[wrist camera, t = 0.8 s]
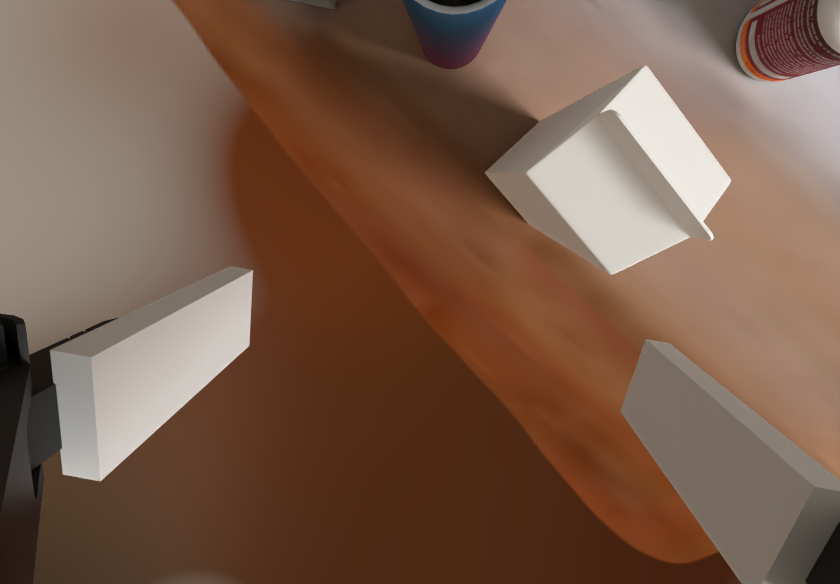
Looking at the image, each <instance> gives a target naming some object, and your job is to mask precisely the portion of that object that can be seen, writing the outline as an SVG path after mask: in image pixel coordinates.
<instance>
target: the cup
mask: <svg viewBox="0 0 840 584" xmlns="http://www.w3.org/2000/svg"><path fill="white" fill-rule="evenodd" d="M403 2H404V5H405V7H406V10H407V12H408V14H409V17H410V19H411V22H412V24H413V27H414V29H415V31H416V34H417V36H418V39H419V41H420V44H421V46H422V48H423V51H424V53H425V54H426V56H427V57H428V59H429V60H430V61H432V62H433V63H434V64H436V65H437V66H439V67H442V68H445V69H457V68H460V67H463V66H465V65H467V64H468V63H470V62H471V61H472V60H473V59H474V58H475V57H476V55H477V54H478V52H479V51H480V49H481V47H482V45H483V43H484V41H485V39H486V38H487V36H488V34H489V32H490V30H491V28H492V26H493V25H494V23H495V21H496V19H497V17H498V15H499V13H500V12H501V10H502V8H503V6H504V4H505V2H506V0H403Z"/></svg>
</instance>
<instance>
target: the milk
mask: <svg viewBox="0 0 840 584" xmlns="http://www.w3.org/2000/svg"><path fill="white" fill-rule="evenodd" d="M485 174H486V175H487V177H488V178H489V179H490V180H491V181H492V182H493V184H494V185H495V186H496V187H497V188H498V189H499V191H500V192H501V193H502V194H503V195H504V196H505V197H506V199H507V200H508V201H509V202H510V203H511V204H512V206H513V207H514V208H515V209H516V210H517V211H518V213H519V214H520V215H521V216H522V217H523V218H524V220H525V221H526V222H527V223H528V224H529V225H531V226H532V227H534V228H535V229H537V230H539V231H540V232H542V233H544V234H545V235H547V236H549V237H550V238H552V239H553V240H555V241H557V242H558V243H560V244H562V245H563V246H565V247H566V248H568V249H570V250H571V251H573V252H575V253H576V254H578V255H579V256H581V257H583V258H584V259H586V260H588V261H589V262H591V263H593V264H594V265H596V266H597V267H599V268H601V269H602V270H604V271H606V272H607V273H609V274H615V273H617V272H619V271H621V270H623V269H625V268H627V267H629V266H631V265H634V264H636V263H638V262H640V261H642V260H644V259H646V258H648V257H650V256H652V255H654V254H656V253H658V252H660V251H662V250H664V249H666V248H668V247H670V246H672V245H674V244H677V243H679V242H681V241H683V240H685V239H687V238H689V237H696V238H700V239H704V240H708V241H711V240H712V239H713V234H712V233H711V231H710V230H709V229H708V227H707V226H706V225H705V223H704V222H703V220H704V219H705V218H706V216H707V215H708V213H709V212H710V211H711V209H712V208H713V206H714V205H715V204H716V202H717V201H718V199H719V198H720V197H721V195H722V194H723V192H724V191H725V190H726V188H727V187H728V185H729V184H730V182H731V179H730V178H729V176H728V175H727V173H726V172H725V171H724V169H723V168H722V167H721V165H720V164H719V163H718V161H717V160H716V159H715V157H714V156H713V155H712V153H711V152H710V150H709V149H708V148H707V146H706V145H705V144H704V142H703V141H702V140H701V138H700V137H699V136H698V134H697V133H696V131H695V130H694V129H693V127H692V126H691V125H690V123H689V122H688V121H687V119H686V118H685V117H684V115H683V114H682V113H681V111H680V110H679V108H678V107H677V106H676V104H675V103H674V102H673V100H672V99H671V98H670V96H669V95H668V94H667V92H666V91H665V90H664V88H663V87H662V85H661V84H660V83H659V81H658V80H657V79H656V77H655V76H654V75H653V73H652V72H651V71H650V69H649V68H648V67H647V66H646V65H644V66H642V67H640V68H638V69H636V70H634V71H633V72H631V73H629V74H627V75H625V76H623V77H621V78H620V79H618V80H616V81H614V82H612V83H610V84H608V85H606V86H605V87H603V88H601V89H599V90H597V91H595V92H593V93H592V94H590V95H588V96H586V97H584V98H582V99H580V100H579V101H577V102H575V103H573V104H571V105H569V106H567V107H565V108H564V109H562V110H560V111H558V112H556V113H554V114H552V115H551V116H549V117H547V118H545V119H543V120H541V121H539V122H538V123H537V124H536V125H535V126H534V127H533V128H532V129H531V130H530V131H529V132H527V133H526V134H525V135H524V136H523V137H522V138H521V139H520V140H519V141H518V142H517V143H516V144H514V145H513V146H512V147H511V148H510V149H509V150H508V151H507V152H506V153H505V154H504V155H503V156H502V157H500V158H499V159H498V160H497V161H496V162H495V163H494V164H493V165H492V166H491V167H490V168H489V169H487V170H486V171H485Z"/></svg>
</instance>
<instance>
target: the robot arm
mask: <svg viewBox="0 0 840 584" xmlns="http://www.w3.org/2000/svg"><path fill="white" fill-rule="evenodd" d="M252 275H253V270H248V269H243V268H237V267H231V266H230V267H228V268H226V269H223V270H221V271H219V272H217V273H215V274H213V275H211V276H208V277H206V278H204V279H202V280H200V281H197V282H195V283H193V284H191V285H189V286H187V287H185V288H182V289H180V290H179V291H176V292H174V293H172V294H170V295H167V296H166V297H163V298H161V299H159V300H157V301H154V302H152V303H150V304H148V305H146V306H144V307H142V308H140V309H137V310H135V311H133V312H131V313H129V314H127V315H124V316H122V317H120V318H116V319H111V320H107V321H103V322H101V323H99V324H97V325H94V326H92V327H90V328H88V329H86V330H85V332H84V331H81V332H79V333H77V334H75V335H72V336H71V337H70V339H68V338H66V339H64V340H62V341H59V342H57V343H55V344H53V345H50V346H48V347H46V348H44V349H42V350H40V351H37V352H35V353H33V354H31V355H29V351H28V342H27V334H26V327H25V322H24V320H23V319H21V318H19V317H16V316H14V315H6V314H0V584H33V581H34V571H35V561H36V552H37V542H38V532H39V522H40V512H41V502H42V493H43V483H44V474H43V466H42V463H43V462H44V461H45V460H47V459H48V458H49V457H51V456H52V455H53V454H55V453H56V452H58V451H59V450H61V460H62V470H63V475H69V476H74V477H80V478H86V479H91V480H96V481H101V480H102V479H103V478H104V477H106V476H107V475H108V474H109V473H110V472H111V471H112V470H113V469H114V468H115V467H117V466H118V465H119V464H120V463H121V462H122V461H123V460H124V459H125V458H126V457H128V456H129V455H130V454H131V453H132V452H133V451H134V450H135V449H136V448H137V447H139V446H140V445H141V444H142V443H143V442H144V441H145V440H146V439H147V438H148V437H149V436H151V435H152V434H153V433H154V432H155V431H156V430H157V429H158V428H159V427H160V426H161V425H163V424H164V423H165V422H166V421H167V420H168V419H169V418H170V417H171V416H173V415H174V414H175V413H176V412H177V411H178V410H179V409H180V408H181V407H182V406H183V405H185V404H186V403H187V402H188V401H189V400H190V399H191V398H192V397H193V396H194V395H196V394H197V393H198V392H199V391H200V390H201V389H202V388H203V387H204V386H205V385H207V384H208V383H209V382H210V381H211V380H212V379H213V378H214V377H215V376H216V375H217V374H219V373H220V372H221V371H222V370H223V369H224V368H225V367H226V366H227V365H229V364H230V363H231V362H232V361H233V360H234V359H235V358H236V357H237V356H238V355H239V354H241V353H242V352H243V351H244V350H245V349H246V348H247V347H248V346H249V340H250V319H251V298H252ZM621 413H622V414H623V416H624V417H625V419H626V420H627V421H628V423H629V424H630V426H631V427H632V429H633V430H634V431H635V433H636V434H637V436H638V437H639V438H640V440H641V441H642V443H643V444H644V446H645V447H646V448H647V450H648V451H649V453H650V454H651V456H652V457H653V458H654V460H655V461H656V463H657V464H658V465H659V467H660V468H661V470H662V471H663V473H664V474H665V475H666V477H667V478H668V480H669V481H670V482H671V484H672V485H673V487H674V488H675V490H676V491H677V492H678V494H679V495H680V497H681V498H682V500H683V501H684V502H685V504H686V505H687V507H688V508H689V509H690V511H691V512H692V514H693V515H694V517H695V518H696V519H697V521H698V522H699V524H700V525H701V526H702V528H703V529H704V531H705V532H706V534H707V535H708V536H709V538H710V539H711V541H712V542H713V543H714V545H715V546H716V548H717V549H718V551H719V552H720V553H721V555H722V556H723V558H724V559H725V561H726V562H727V563H728V565H729V566H730V568H731V569H732V570H733V572H734V573H735V575H736V576H737V578H738V579H739V580H740V582H741V583H742V584H806V583H807V584H840V480H839V479H838V478H837V477H835V476H834V475H833V474H832V473H830V472H829V471H828V470H827V469H825V468H824V467H823V466H822V465H820V464H819V463H818V462H817V461H815V460H814V459H813V458H812V457H810V456H809V455H808V454H807V453H805V452H804V451H803V450H802V449H800V448H799V447H798V446H797V445H795V444H794V443H793V442H792V441H790V440H789V439H788V438H787V437H785V436H784V435H783V434H782V433H780V432H779V431H778V430H777V429H775V428H774V427H773V426H772V425H770V424H769V423H768V422H767V421H765V420H764V419H763V418H762V417H760V416H759V415H758V414H757V413H755V412H754V411H753V410H752V409H750V408H749V407H748V406H747V405H746V404H744V403H743V402H742V401H741V400H739V399H738V398H737V397H736V396H734V395H733V394H732V393H731V392H729V391H728V390H727V389H726V388H724V387H723V386H722V385H721V384H719V383H718V382H717V381H716V380H714V379H713V378H712V377H711V376H709V375H708V374H707V373H706V372H704V371H703V370H702V369H701V368H699V367H698V366H697V365H696V364H694V363H693V362H692V361H691V360H689V359H688V358H687V357H686V356H684V355H683V354H682V353H681V352H679V351H678V350H677V349H676V348H674V347H673V346H672V345H671V344H669V343H665V342H659V341H653V340H648V339H646V340H645V343H644V346H643V349H642V352H641V355H640V357H639V360H638V363H637V366H636V369H635V372H634V375H633V377H632V380H631V383H630V386H629V389H628V392H627V395H626V397H625V400H624V403H623V406H622V409H621Z"/></svg>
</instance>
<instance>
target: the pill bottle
mask: <svg viewBox="0 0 840 584" xmlns="http://www.w3.org/2000/svg"><path fill="white" fill-rule="evenodd" d="M736 54H737V58H738V61H739V64H740V66H741V68H742V69H743V71H744V72H745V73H746V74H748V75H749V76H750V77H752V78H754V79H756V80H759V81H763V82H778V81H783V80H787V79H791V78H794V77H798V76H802V75H805V74H809V73H812V72H816V71H819V70H823V69H826V68H830V67H833V66H837V65H840V0H761V1H760V2H758V3H757V4H756V5H755V6H754V7H753V8H752V9H751V10H750V12H749V13H748V14H747V16H746V17H745V19H744V20H743V22H742V24H741V26H740V29H739V32H738V35H737V41H736Z"/></svg>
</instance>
